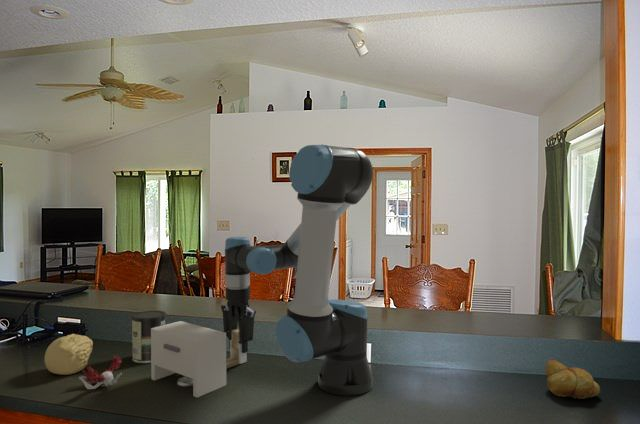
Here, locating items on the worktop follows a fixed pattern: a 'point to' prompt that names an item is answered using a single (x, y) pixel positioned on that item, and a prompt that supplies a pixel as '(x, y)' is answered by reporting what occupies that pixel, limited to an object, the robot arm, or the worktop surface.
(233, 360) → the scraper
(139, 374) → the worktop surface
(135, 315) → the coffee can
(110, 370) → the figurine
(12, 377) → the worktop surface
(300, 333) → the robot arm
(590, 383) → the bread roll
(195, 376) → the cabinet
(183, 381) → the steel token
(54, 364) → the sculpture
